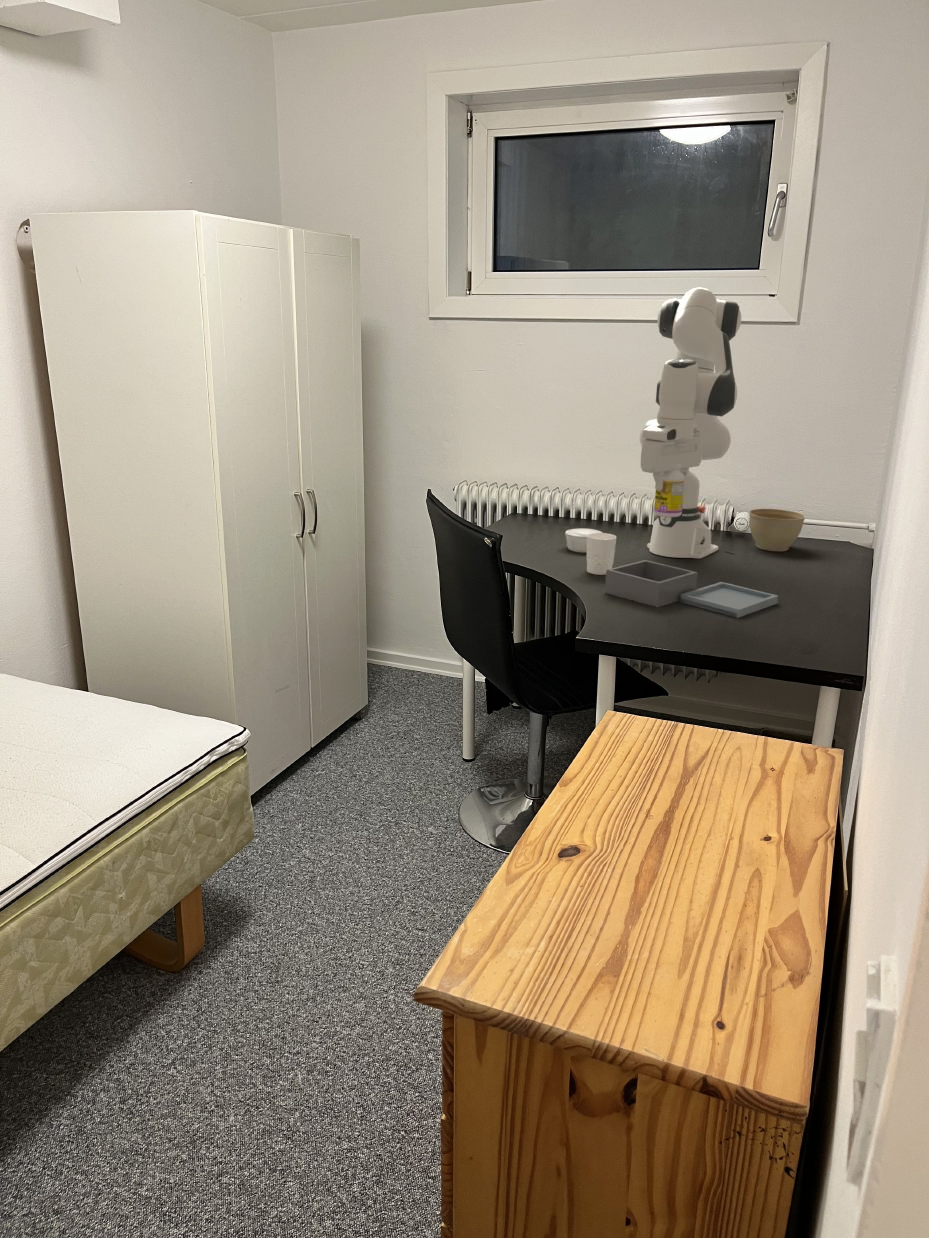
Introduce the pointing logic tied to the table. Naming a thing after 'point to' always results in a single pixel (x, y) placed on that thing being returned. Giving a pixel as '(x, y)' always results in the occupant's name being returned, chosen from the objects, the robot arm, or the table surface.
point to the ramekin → (578, 539)
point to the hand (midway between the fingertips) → (669, 488)
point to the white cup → (600, 552)
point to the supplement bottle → (670, 494)
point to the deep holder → (650, 582)
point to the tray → (729, 599)
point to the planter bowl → (775, 528)
